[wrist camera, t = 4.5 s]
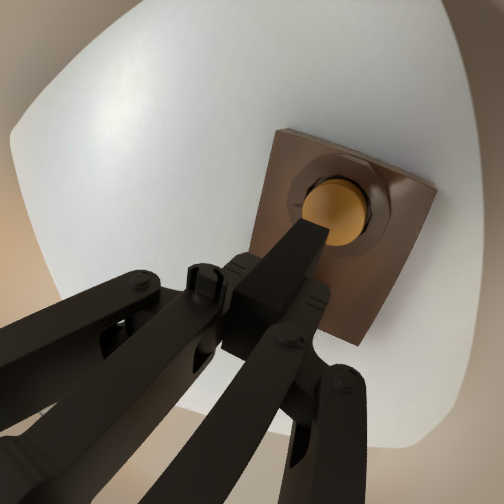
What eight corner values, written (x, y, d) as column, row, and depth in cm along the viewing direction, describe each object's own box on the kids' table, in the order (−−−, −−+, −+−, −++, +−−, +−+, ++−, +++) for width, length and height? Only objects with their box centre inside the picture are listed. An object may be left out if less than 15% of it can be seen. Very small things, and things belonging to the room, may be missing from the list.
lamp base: (434, 183, 19) (440, 196, 16) (362, 331, 27) (354, 360, 24) (286, 128, 23) (265, 131, 19) (249, 281, 30) (229, 302, 27)
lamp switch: (376, 191, 18) (374, 198, 17) (355, 244, 20) (351, 255, 19) (318, 169, 19) (311, 174, 18) (302, 223, 21) (295, 231, 20)
